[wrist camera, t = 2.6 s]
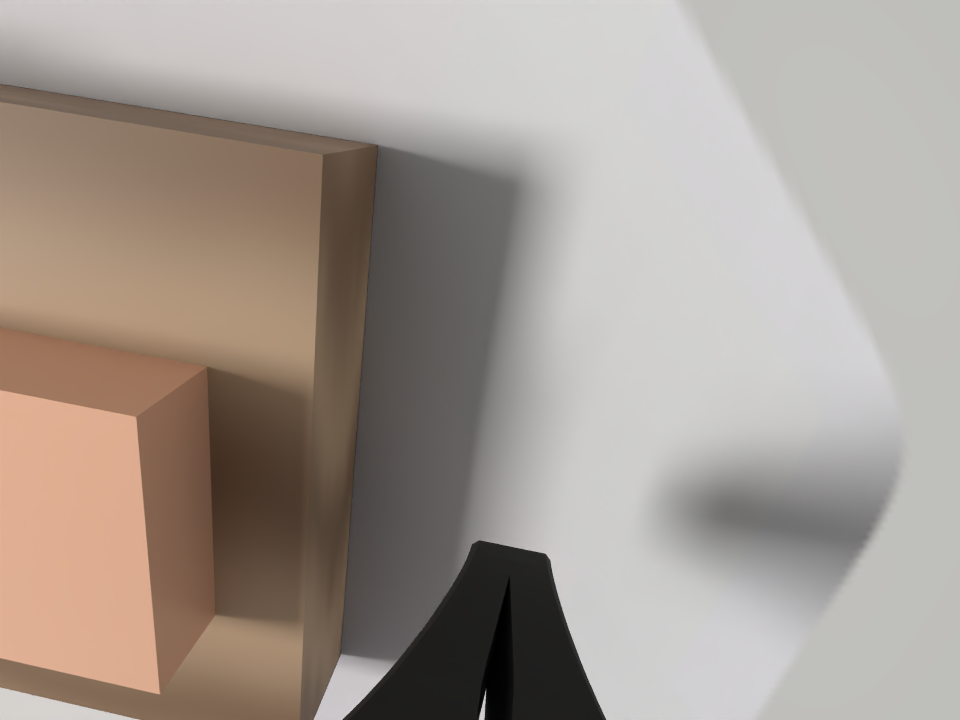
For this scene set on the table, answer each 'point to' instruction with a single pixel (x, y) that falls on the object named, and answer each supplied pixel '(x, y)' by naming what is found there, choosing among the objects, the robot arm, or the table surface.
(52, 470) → the terracotta tile
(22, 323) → the walnut plate
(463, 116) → the table surface
